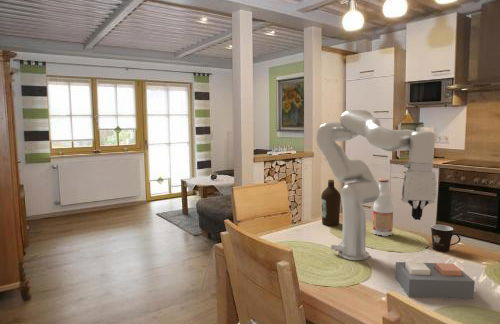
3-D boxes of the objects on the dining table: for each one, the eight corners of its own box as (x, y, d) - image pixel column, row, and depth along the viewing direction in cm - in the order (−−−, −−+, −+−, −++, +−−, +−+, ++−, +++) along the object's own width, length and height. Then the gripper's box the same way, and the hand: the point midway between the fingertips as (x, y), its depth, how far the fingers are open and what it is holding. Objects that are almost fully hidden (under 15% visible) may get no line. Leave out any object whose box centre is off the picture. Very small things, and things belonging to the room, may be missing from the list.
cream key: (411, 282, 117) (411, 269, 116) (404, 274, 123) (405, 262, 122) (429, 282, 116) (430, 269, 116) (422, 275, 122) (423, 262, 122)
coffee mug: (425, 246, 158) (426, 225, 157) (443, 245, 159) (444, 224, 158) (442, 256, 147) (443, 233, 146) (461, 255, 148) (462, 232, 146)
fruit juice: (381, 237, 171) (383, 181, 168) (368, 232, 179) (370, 178, 176) (396, 235, 174) (398, 180, 171) (383, 230, 183) (384, 177, 180)
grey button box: (408, 296, 113) (409, 279, 113) (395, 277, 127) (395, 262, 127) (473, 299, 111) (474, 281, 111) (452, 279, 125) (453, 263, 125)
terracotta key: (442, 283, 116) (442, 270, 115) (434, 275, 122) (435, 263, 121) (461, 283, 115) (462, 270, 115) (452, 275, 121) (453, 263, 121)
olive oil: (336, 220, 201) (337, 178, 198) (343, 226, 190) (343, 181, 187) (318, 221, 200) (319, 178, 197) (324, 227, 189) (324, 181, 186)
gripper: (400, 168, 117) (397, 221, 119) (448, 169, 115) (443, 223, 117) (394, 165, 124) (391, 214, 127) (438, 166, 122) (434, 216, 125)
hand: (416, 218), depth 122 cm, fingers closed
